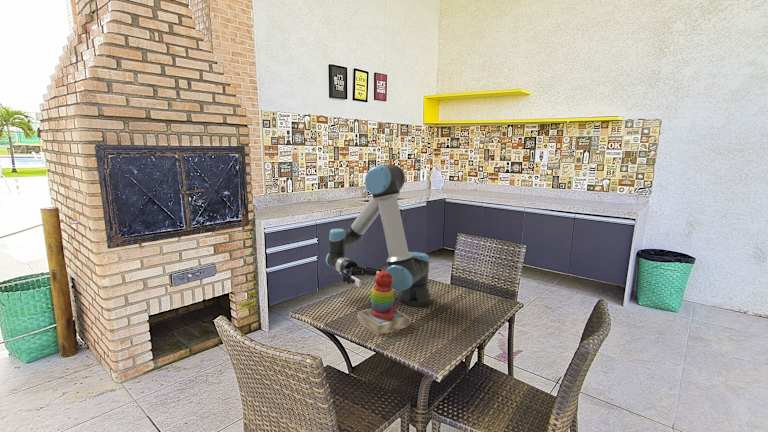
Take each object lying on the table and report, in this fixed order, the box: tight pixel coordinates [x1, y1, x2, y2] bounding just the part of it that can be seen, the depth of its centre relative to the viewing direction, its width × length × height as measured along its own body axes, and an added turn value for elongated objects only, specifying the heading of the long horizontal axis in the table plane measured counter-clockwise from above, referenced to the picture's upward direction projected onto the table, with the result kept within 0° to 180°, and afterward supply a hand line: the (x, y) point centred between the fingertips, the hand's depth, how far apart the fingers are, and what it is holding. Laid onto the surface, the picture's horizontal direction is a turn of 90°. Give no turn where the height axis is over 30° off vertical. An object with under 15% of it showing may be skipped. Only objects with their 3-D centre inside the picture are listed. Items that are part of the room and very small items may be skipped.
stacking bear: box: [370, 269, 397, 320], centre depth 153 cm, size 11×10×18 cm
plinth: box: [356, 307, 410, 337], centre depth 155 cm, size 15×15×4 cm
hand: (373, 281), depth 158 cm, fingers open, 12 cm apart
